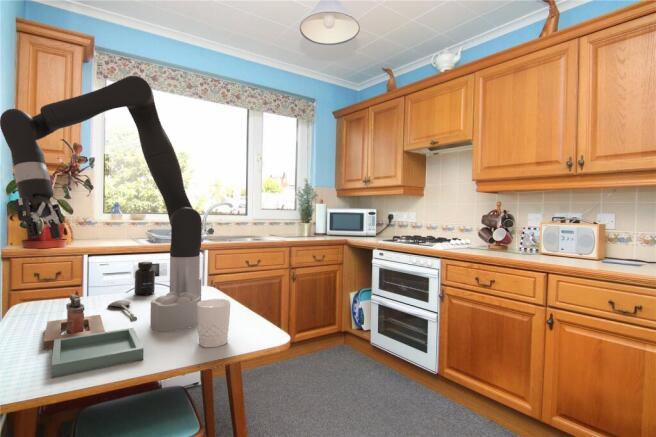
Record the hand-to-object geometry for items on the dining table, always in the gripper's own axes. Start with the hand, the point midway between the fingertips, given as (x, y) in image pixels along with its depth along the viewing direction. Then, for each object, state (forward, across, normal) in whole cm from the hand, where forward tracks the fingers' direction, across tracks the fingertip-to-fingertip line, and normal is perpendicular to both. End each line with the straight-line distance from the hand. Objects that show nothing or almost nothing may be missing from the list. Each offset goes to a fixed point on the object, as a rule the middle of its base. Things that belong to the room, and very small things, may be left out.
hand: (46, 237), depth 99 cm
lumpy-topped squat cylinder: (+33, +4, -27) cm, 43 cm away
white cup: (+39, -11, -39) cm, 56 cm away
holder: (+27, -4, -4) cm, 28 cm away
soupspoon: (+26, +16, -8) cm, 32 cm away
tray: (+33, -18, -16) cm, 40 cm away
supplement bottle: (+22, +39, -6) cm, 45 cm away
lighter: (+28, -4, -4) cm, 28 cm away
